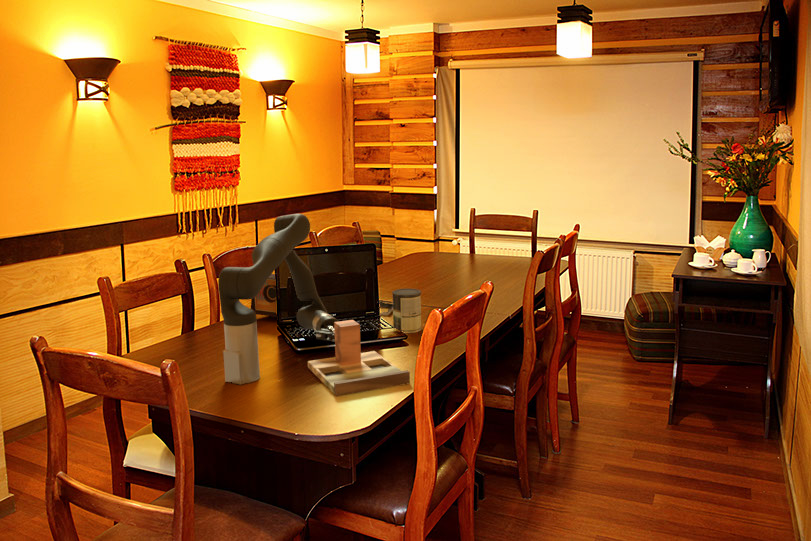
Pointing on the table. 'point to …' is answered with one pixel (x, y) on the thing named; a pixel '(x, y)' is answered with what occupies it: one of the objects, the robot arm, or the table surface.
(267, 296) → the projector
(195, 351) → the table surface
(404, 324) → the coffee can
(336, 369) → the trap box
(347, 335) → the block
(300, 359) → the table surface
